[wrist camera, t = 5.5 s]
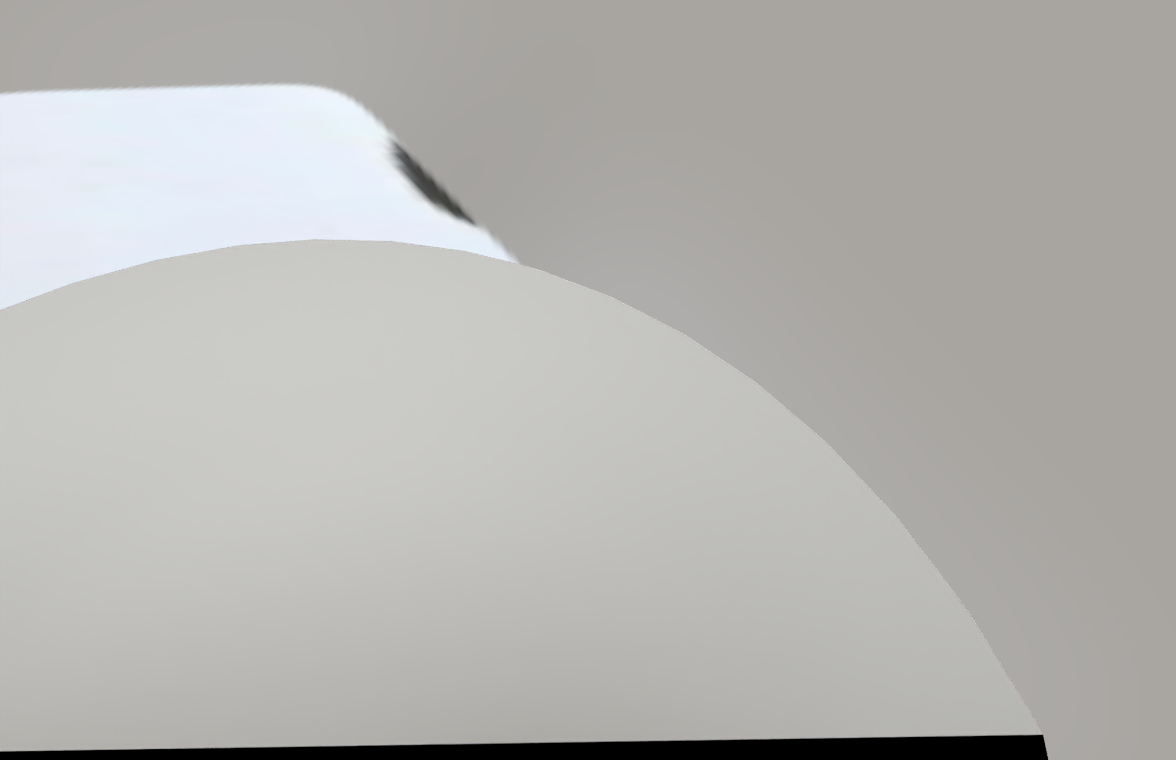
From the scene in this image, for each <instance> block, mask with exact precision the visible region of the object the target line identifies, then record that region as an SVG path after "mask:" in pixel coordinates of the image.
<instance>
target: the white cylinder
mask: <svg viewBox="0 0 1176 760" xmlns="http://www.w3.org/2000/svg"><path fill="white" fill-rule="evenodd" d="M740 739H759V749H760V759H761V760H1048V756H1047V751H1046V747H1045V742H1044V737H1043V734H1042V732H1041V730H1040V728H1039V725H1038V724H1037V722H1036V720H1035V719H1034V717H1033V715H1032V714H1031V712H1030V710H1029V709H1028V707H1027V705H1026V704H1025V702H1024V701H1023V699H1022V697H1021V696H1020V694H1019V692H1018V691H1017V689H1016V688H1015V687H1014V684H1013V683H1012V681H1011V680H1010V678H1009V676H1008V675H1007V673H1006V671H1005V670H1004V668H1003V666H1002V665H1001V663H1000V662H999V660H998V658H997V657H996V655H995V653H994V652H993V650H992V649H991V647H990V645H989V644H988V642H987V640H986V639H985V637H984V636H983V634H982V632H981V631H980V629H979V627H978V626H977V624H976V622H975V621H974V619H973V618H972V616H971V615H970V613H969V611H968V610H967V608H966V607H965V606H964V604H963V603H962V602H961V601H960V599H959V598H958V597H957V595H956V594H955V592H954V591H953V590H952V589H951V588H950V586H949V585H948V583H947V582H946V581H945V580H944V578H943V577H942V575H941V574H940V573H939V571H938V570H937V569H936V568H935V566H934V565H933V564H932V562H931V561H930V560H929V558H928V557H927V556H926V555H925V553H924V552H923V551H922V549H921V548H920V547H919V545H918V544H917V543H916V541H915V540H914V539H913V537H912V536H911V535H910V533H909V532H908V531H907V530H906V528H905V527H904V526H903V524H902V523H901V522H900V520H899V519H898V518H897V517H896V516H895V515H894V513H893V512H892V511H891V510H890V509H889V508H888V507H887V506H886V505H885V504H884V503H883V502H882V501H881V500H880V499H879V498H878V497H877V495H876V494H875V493H874V492H873V491H872V490H871V489H870V488H869V487H868V486H867V485H866V484H865V483H864V482H863V481H862V480H861V478H860V477H859V476H858V475H857V474H856V473H855V472H854V471H853V470H852V469H851V468H850V467H849V466H848V465H847V464H846V463H845V462H844V461H843V459H842V458H841V457H840V456H839V455H838V454H837V453H836V452H835V451H834V450H833V449H832V448H831V447H830V446H829V445H828V444H827V442H825V441H824V440H823V439H822V438H821V437H820V436H818V435H817V434H816V433H815V432H814V431H812V430H811V429H810V428H809V427H808V426H807V425H805V424H804V423H803V422H802V421H800V420H799V419H798V418H797V417H796V416H795V415H794V414H792V413H791V412H790V411H789V410H788V409H787V408H785V407H784V406H783V405H782V404H781V403H779V402H778V401H777V400H776V399H775V398H774V397H772V396H771V395H770V394H769V393H768V392H767V391H765V390H764V389H763V388H762V387H761V386H759V385H758V384H757V383H756V382H755V381H753V380H752V379H750V378H749V377H747V376H746V375H744V374H743V373H741V372H740V371H738V370H737V369H735V368H734V367H732V366H731V365H729V364H728V363H726V362H725V361H723V360H722V359H720V358H719V357H717V356H716V355H714V354H713V353H711V352H710V351H708V350H707V349H706V348H704V347H703V346H701V345H699V344H698V343H696V342H695V341H694V340H692V339H691V338H689V337H688V336H686V335H685V334H683V333H681V332H679V331H677V330H675V329H673V328H671V327H669V326H667V325H666V324H664V323H661V322H660V321H658V320H656V319H654V318H652V317H650V316H648V315H646V314H644V313H642V312H640V311H638V310H636V309H634V308H632V307H631V306H628V305H627V304H625V303H623V302H621V301H619V300H617V299H615V298H613V297H611V296H608V295H606V294H603V293H600V292H597V291H595V290H592V289H590V288H587V287H584V286H582V285H579V284H576V283H574V282H571V281H568V280H566V279H563V278H560V277H558V276H555V275H552V274H550V273H547V272H544V271H541V270H539V269H535V268H531V267H527V266H523V265H519V264H515V263H511V262H507V261H503V260H499V259H495V258H491V257H487V256H483V255H479V254H475V253H471V252H467V251H461V250H453V249H445V248H438V247H430V246H423V245H415V244H408V243H400V242H393V241H358V240H302V241H290V242H277V243H264V244H252V245H239V246H232V247H227V248H221V249H216V250H210V251H204V252H199V253H193V254H188V255H182V256H177V257H171V258H165V259H160V260H155V261H151V262H148V263H144V264H141V265H137V266H133V267H130V268H126V269H122V270H119V271H115V272H112V273H108V274H104V275H101V276H97V277H93V278H90V279H86V280H83V281H79V282H75V283H72V284H69V285H67V286H64V287H61V288H59V289H56V290H53V291H50V292H48V293H45V294H42V295H40V296H37V297H34V298H32V299H29V300H26V301H24V302H21V303H18V304H15V305H13V306H10V307H7V308H5V309H2V310H0V760H167V759H169V758H170V757H171V756H175V755H179V754H183V753H187V752H192V751H196V750H200V749H204V748H213V751H212V754H211V757H210V760H744V756H743V752H742V748H741V743H740Z"/></svg>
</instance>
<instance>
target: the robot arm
mask: <svg viewBox="0 0 1176 760" xmlns="http://www.w3.org/2000/svg"><path fill="white" fill-rule="evenodd" d="M740 743H741V748H742V752H743V756H744V760H761V759H760V749H759V739H740ZM212 751H213V748H204V749H200V750H196V751H192V752H187V753H183V754H179V755H175V756H171V757H170V758H169V759H167V760H210V757H211V754H212Z"/></svg>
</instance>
